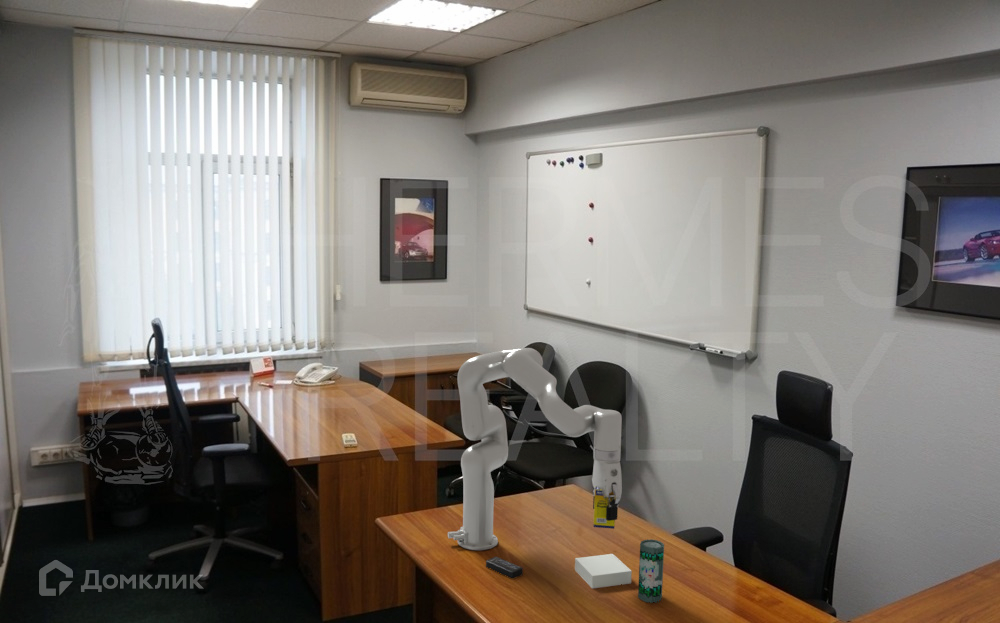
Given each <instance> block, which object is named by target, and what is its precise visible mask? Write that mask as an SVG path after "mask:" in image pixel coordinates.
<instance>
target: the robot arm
mask: <svg viewBox="0 0 1000 623" xmlns="http://www.w3.org/2000/svg"><path fill="white" fill-rule="evenodd" d="M543 360H544V359H543V357H542V355H541V353H540V352H539V351H537V349H534V348H532V347H524V348H517V349H508V350H500V351H499V350H498V351H493V352H490V353H488V352H487V353H483V354H479V355H476V356H474V357H471V358H469V359H468V360H466V361H464V362H463V363H462V364H461V366H460V367H459V370H458V372H457V377H456V378H457V379H456V380H457V387H458V392H459V394H458V395H459V399H460V415H461V425H462V430H463V431H462V432H463V434H464V436H465V438H466V439H468V440H469V441H474V442H475V441H480V440H481V441H480V442H478V443H475V444H472V445H471V446H469V447H468V448H466V449H464V451H463V453H462V455H461V458H460V467H461V472H462V482H463V484H462V485H463V487H462V488H463V490H462V491H463V493H462V494H463V498H462V499H463V500H462V501H463V503H462V504H463V505H462V526H460V528H459V529H458V530H457V531H448V532H447V538H448V539H453V541H457V543H458V546H460V547H462V548H463V549H467V550H470V551H486V550H490V549H493V548H494V547H496V546H498V544H499V543H498V542H499V540H498V537H497V536H496V535H495V534H494V507H495V506H494V502H495V501H494V498H495V497H494V496H495V490H494V489H495V486H494V481H493V479H492V475H491V472H492V471H494V470H496V469H498V468H501V467H502V466H503V465H504V464H505V463H506V462H507V460H508V458H509V457H508V456H509V444H508V432H507V431H508V430H507V422H506V421H507V420H506V418H505V415H504V413H503V411H502V410H501V408H499V407H498V406H496V405H495V404H489V402H488V394H487V390H486V389H485V387H484V385H483V384H486V383H490V382H492V381H496V380H500V379H504V378H510V379H511V380H512V381H513V382H515V383H516V384H517V385H518V386H520V387H521V388H522V389H524V391H525V392H527V393H528V394H529V395H530V396H531V397H533V398H534V400H536V401H537V403H538V406H539V408H540V410H541V412H542V414H543V415H544V417H545V419H547V420H548V422H549V423H551V424H552V425H553V426H554V427H555V428H557V429H558V430H559V431H560V432H562V434H564V435H567V436H568V437H571V438H579V437H581V436H583V435H585V434H587V433H590V432H593V433H594V434H593V458H592V459H593V469H592V477H591V482H592V486H591V487H592V489H593V492H592V495H593V499H592V500H593V501H592V503H593V504H592V509H593V510H594V499H595V486H597V487H598V488H600V489H601V490H602V493H603V495H604V496H605V497H606V499H607V503H608V506H606V520H607V521H610V520H615V521H617V520H618V514H619V513H618V512H619V511H618V510H619V508H618V507H619V504H620V501H621V499H622V490H623V487H622V486H623V485H622V481H623V480H622V467H621V462H620V461H621V451H622V449H621V448H622V447H621V446H622V423H623V421H622V418H623V417H622V414H621V413H620V412H619V411H617V410H613V409H604V408H600V407H597V406H594V405H591V404H583V405H581V406H579V407H576V408H572V407H571V406H570V405H568V404H567V403H566V402H564V400H562V398H561V397H560V396H559V395H558V392H557V390H556V389H557V383H558V382H557V378H556V377H555V375H553V374H552V373H550V372H549V371H548V370H547V369H545V368H544V367H543V365H544V361H543ZM612 491H613V494H614V495H609V493H611V492H612ZM610 498H614V499H613V500H612V501H610Z"/></svg>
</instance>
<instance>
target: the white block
mask: <svg viewBox="0 0 1000 623" xmlns="http://www.w3.org/2000/svg"><path fill="white" fill-rule="evenodd" d="M574 570H575V572H576V574H578V575H579V576H580V577H581V578H582V579H583V581H585V582H586V583H587V585H588V586H589V587H590V588H591V589H597V588H606V587H611V586H612V587H613V586H621V584H622V585H628V584H632V572H633V571H632V570H631V569H630V568H629V567H628V566H627V565H626V564H625V563H623V561H621V560H620V558H618V557H617V556H616V555H615V554H613V553H609V554H608V553H607V554H600V555H592V556H582V557H575V558H574Z"/></svg>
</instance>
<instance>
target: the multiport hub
mask: <svg viewBox="0 0 1000 623" xmlns="http://www.w3.org/2000/svg"><path fill="white" fill-rule="evenodd" d="M485 567H486V568H487V567H488V568H487V569H489V568H491V569H493V570H495V571H494V572H496V571H497V572H496V573H498V572H499V573H498V574H500V573H501V574H500V575H503V576H505V575H506V576H505V577H507V576H508V577H507V578H510V579H513V580H515V579H516V578H518V577H521V576H523V570H524V568H523V567H522V566H519V565H517V564H514V563H512V562H510V561H508V560H506V559H504V558H501V557H499V556H493V557H490V558H489V559H487V560H485ZM491 569H490V570H491ZM493 570H492V571H493Z"/></svg>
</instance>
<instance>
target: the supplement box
mask: <svg viewBox="0 0 1000 623" xmlns="http://www.w3.org/2000/svg"><path fill="white" fill-rule="evenodd" d="M609 495H614V494H613V491H612V492H611V493H609ZM613 499H614V498H610V501H612V500H613ZM606 506H608V503H607V499H606V497H605V496H604V495H603V493H602V490H601V489H600V488H598V487H597V486H595V499H594V509H593V528H600V529H612V530H614V529H615V524H616V522H615V521H616V520H610V521H607V520H606Z"/></svg>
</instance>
